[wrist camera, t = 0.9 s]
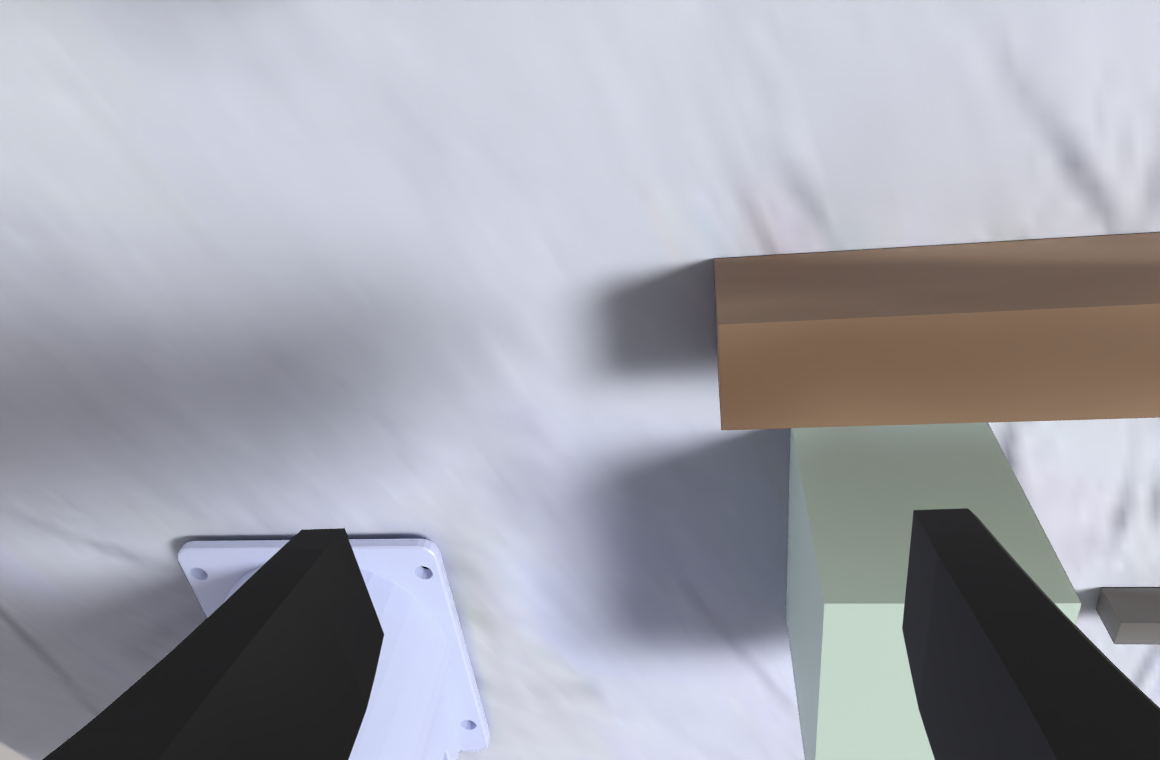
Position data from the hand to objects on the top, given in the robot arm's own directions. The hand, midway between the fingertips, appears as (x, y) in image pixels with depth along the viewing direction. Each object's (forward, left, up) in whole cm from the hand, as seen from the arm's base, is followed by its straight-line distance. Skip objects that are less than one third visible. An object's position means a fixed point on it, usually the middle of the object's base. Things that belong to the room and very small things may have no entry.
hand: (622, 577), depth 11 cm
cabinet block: (-8, -5, -10) cm, 14 cm away
